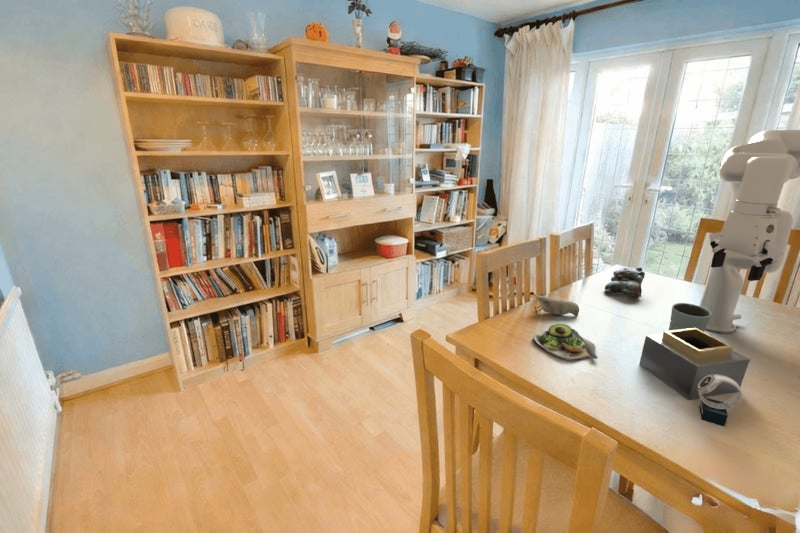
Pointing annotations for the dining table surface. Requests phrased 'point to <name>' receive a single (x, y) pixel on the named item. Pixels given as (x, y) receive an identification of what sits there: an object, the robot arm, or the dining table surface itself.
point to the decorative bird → (557, 306)
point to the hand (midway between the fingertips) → (734, 273)
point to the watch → (713, 408)
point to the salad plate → (565, 342)
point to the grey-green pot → (689, 317)
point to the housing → (692, 361)
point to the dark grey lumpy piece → (626, 282)
